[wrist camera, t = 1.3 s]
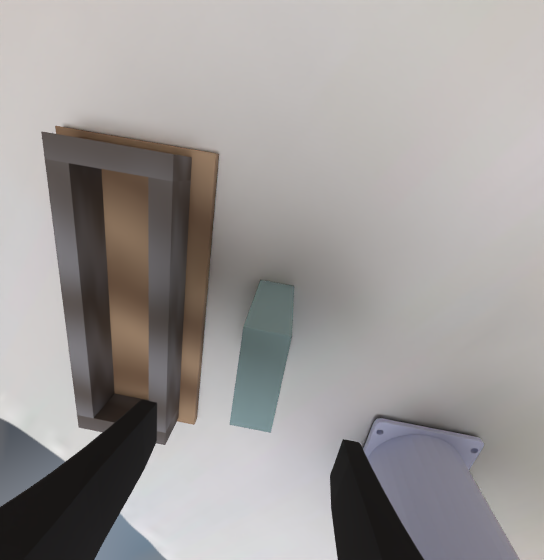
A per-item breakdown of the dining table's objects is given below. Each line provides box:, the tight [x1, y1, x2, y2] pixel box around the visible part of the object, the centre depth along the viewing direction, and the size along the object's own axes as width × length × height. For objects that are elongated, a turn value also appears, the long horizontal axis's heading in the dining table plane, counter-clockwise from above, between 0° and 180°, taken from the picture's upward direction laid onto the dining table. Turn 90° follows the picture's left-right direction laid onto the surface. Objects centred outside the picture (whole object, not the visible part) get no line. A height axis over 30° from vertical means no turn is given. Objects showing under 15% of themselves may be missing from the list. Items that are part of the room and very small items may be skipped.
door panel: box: [230, 280, 294, 433], centre depth 16 cm, size 6×2×6 cm, turn 171°
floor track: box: [42, 126, 219, 445], centre depth 18 cm, size 20×9×3 cm, turn 171°
